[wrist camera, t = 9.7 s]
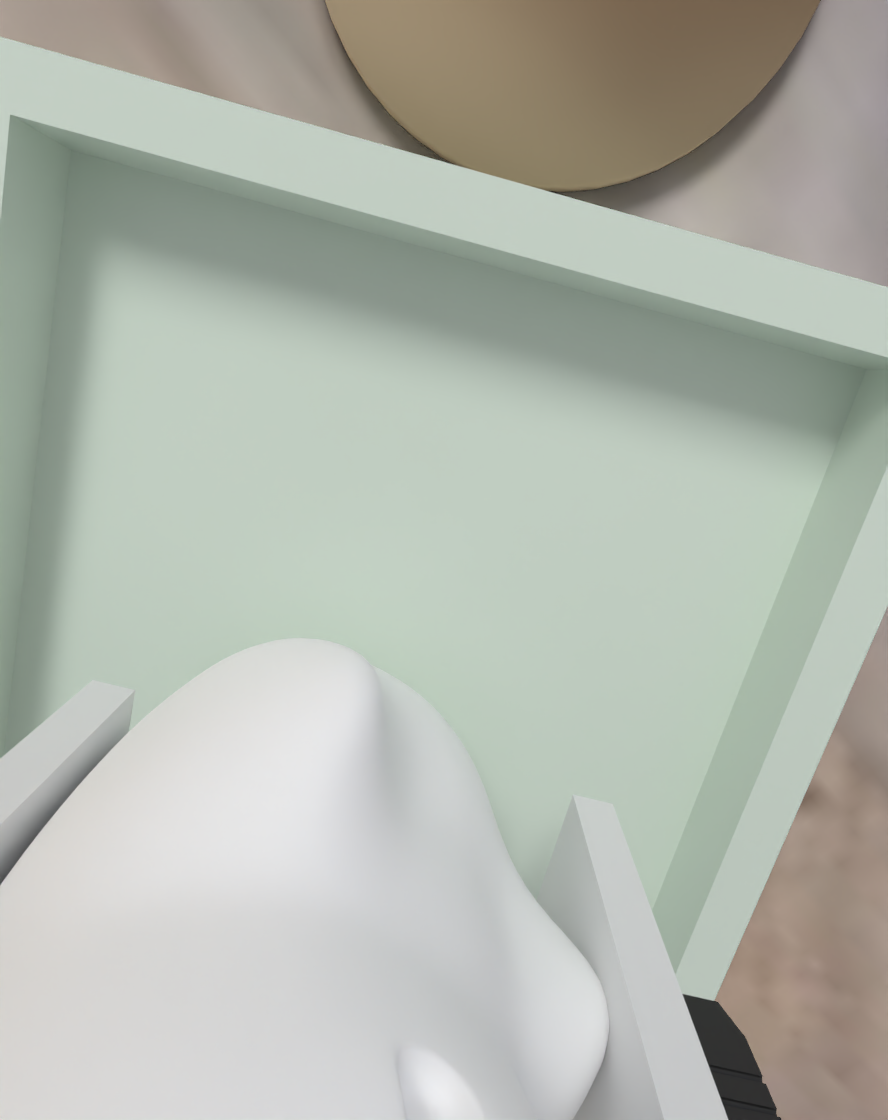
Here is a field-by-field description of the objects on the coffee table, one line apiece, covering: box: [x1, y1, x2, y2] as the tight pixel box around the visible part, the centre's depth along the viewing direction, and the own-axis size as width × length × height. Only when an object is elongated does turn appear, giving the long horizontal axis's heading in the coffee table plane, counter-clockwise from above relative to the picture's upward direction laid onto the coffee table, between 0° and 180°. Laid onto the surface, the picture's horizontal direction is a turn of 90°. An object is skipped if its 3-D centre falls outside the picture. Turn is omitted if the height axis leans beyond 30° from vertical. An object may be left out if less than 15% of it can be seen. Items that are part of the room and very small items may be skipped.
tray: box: [0, 37, 888, 1001], centre depth 15 cm, size 22×17×2 cm
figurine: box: [0, 638, 610, 1120], centre depth 8 cm, size 7×8×12 cm
